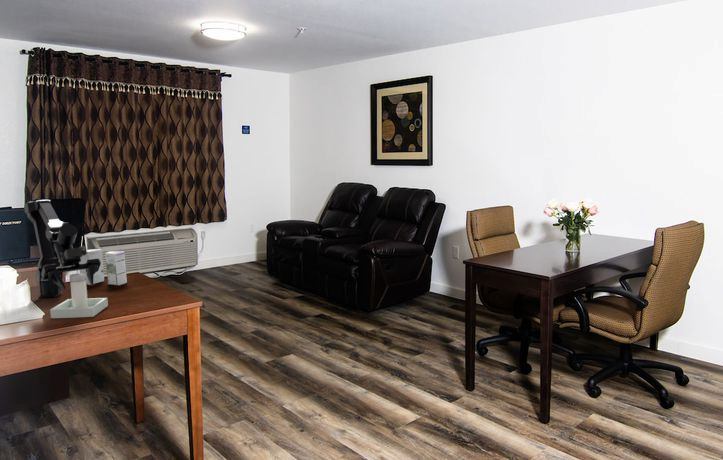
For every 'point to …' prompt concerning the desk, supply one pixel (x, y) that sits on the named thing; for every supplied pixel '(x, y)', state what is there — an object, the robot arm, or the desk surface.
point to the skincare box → (100, 273)
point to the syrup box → (116, 267)
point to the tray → (68, 312)
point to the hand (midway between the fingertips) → (78, 287)
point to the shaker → (79, 290)
